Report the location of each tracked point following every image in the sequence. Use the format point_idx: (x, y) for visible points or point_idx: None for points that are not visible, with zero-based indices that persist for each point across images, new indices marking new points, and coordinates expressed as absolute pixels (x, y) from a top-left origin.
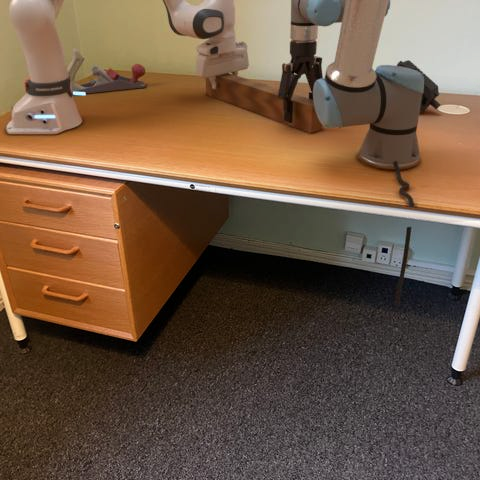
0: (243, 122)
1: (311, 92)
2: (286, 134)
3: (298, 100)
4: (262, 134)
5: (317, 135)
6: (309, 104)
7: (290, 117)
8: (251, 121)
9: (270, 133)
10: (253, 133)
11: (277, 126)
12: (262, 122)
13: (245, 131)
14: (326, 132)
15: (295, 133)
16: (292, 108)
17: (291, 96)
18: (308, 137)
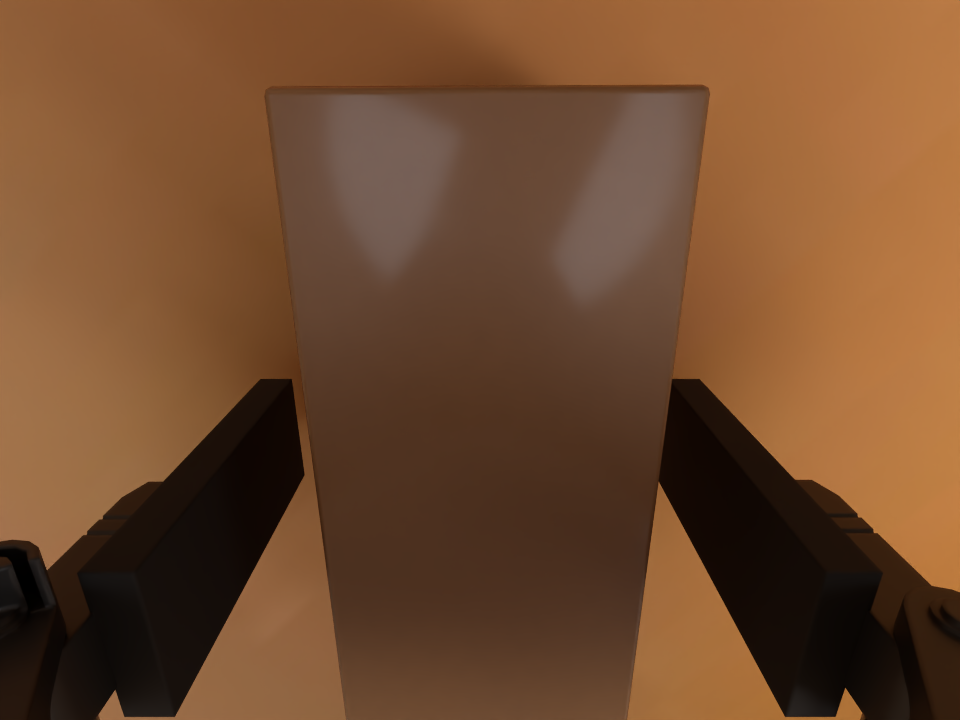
0: (776, 715)
1: (120, 697)
2: (782, 292)
3: (569, 588)
4: (927, 442)
5: (567, 13)
6: (616, 270)
7: (729, 411)
8: (715, 697)
9: (858, 414)
10: (951, 508)
11: (660, 501)
12: (672, 637)
13: (947, 579)
14: (404, 12)
15: (695, 249)
16: (753, 478)
17: (939, 673)
18: (698, 42)
